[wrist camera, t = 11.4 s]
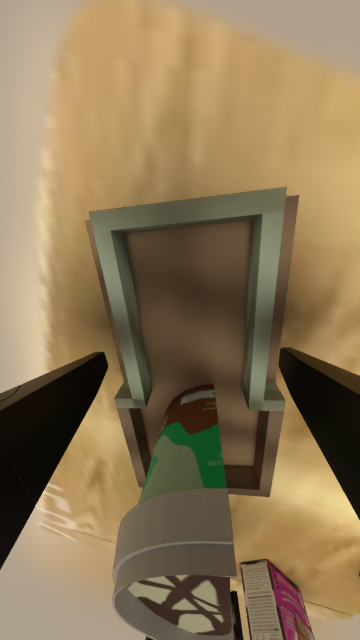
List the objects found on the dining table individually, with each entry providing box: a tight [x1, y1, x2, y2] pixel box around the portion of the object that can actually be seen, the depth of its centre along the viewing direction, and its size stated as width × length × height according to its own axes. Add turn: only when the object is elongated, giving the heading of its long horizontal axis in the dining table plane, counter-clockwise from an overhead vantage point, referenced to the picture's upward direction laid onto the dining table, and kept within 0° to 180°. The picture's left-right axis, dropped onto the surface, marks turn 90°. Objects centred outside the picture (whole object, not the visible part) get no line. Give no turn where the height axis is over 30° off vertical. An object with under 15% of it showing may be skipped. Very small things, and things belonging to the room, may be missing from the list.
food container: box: [112, 384, 237, 640], centre depth 13 cm, size 12×6×10 cm, turn 6°
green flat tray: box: [85, 187, 299, 497], centre depth 15 cm, size 25×13×2 cm, turn 5°
